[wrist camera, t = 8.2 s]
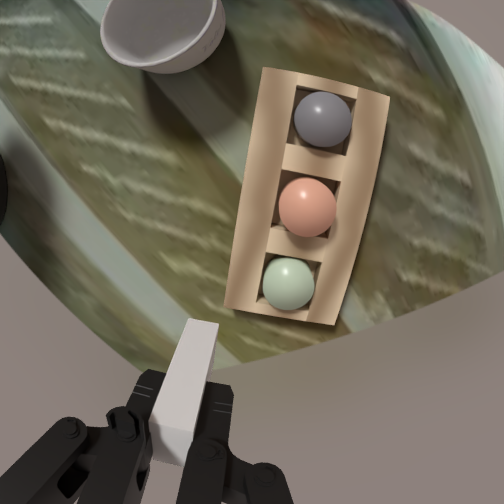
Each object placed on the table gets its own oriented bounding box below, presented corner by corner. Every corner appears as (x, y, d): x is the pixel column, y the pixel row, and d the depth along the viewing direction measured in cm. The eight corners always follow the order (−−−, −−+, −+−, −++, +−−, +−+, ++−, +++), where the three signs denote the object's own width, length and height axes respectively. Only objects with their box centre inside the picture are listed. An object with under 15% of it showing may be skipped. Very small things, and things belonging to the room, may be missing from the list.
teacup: (236, 70, 27) (224, 47, 19) (137, 93, 28) (99, 82, 21) (221, -32, 23) (207, -69, 15) (130, -7, 24) (98, -34, 16)
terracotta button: (274, 223, 30) (274, 231, 27) (283, 171, 28) (284, 174, 25) (324, 232, 30) (329, 241, 27) (335, 182, 28) (342, 186, 25)
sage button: (259, 292, 33) (258, 305, 31) (268, 248, 32) (268, 259, 29) (305, 299, 33) (307, 313, 31) (316, 257, 32) (319, 268, 29)
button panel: (227, 294, 35) (223, 307, 32) (264, 74, 27) (263, 66, 24) (330, 311, 35) (334, 325, 32) (379, 100, 27) (390, 96, 24)
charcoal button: (288, 141, 28) (290, 140, 25) (297, 92, 26) (300, 86, 24) (339, 152, 28) (346, 152, 25) (348, 103, 26) (355, 99, 24)
